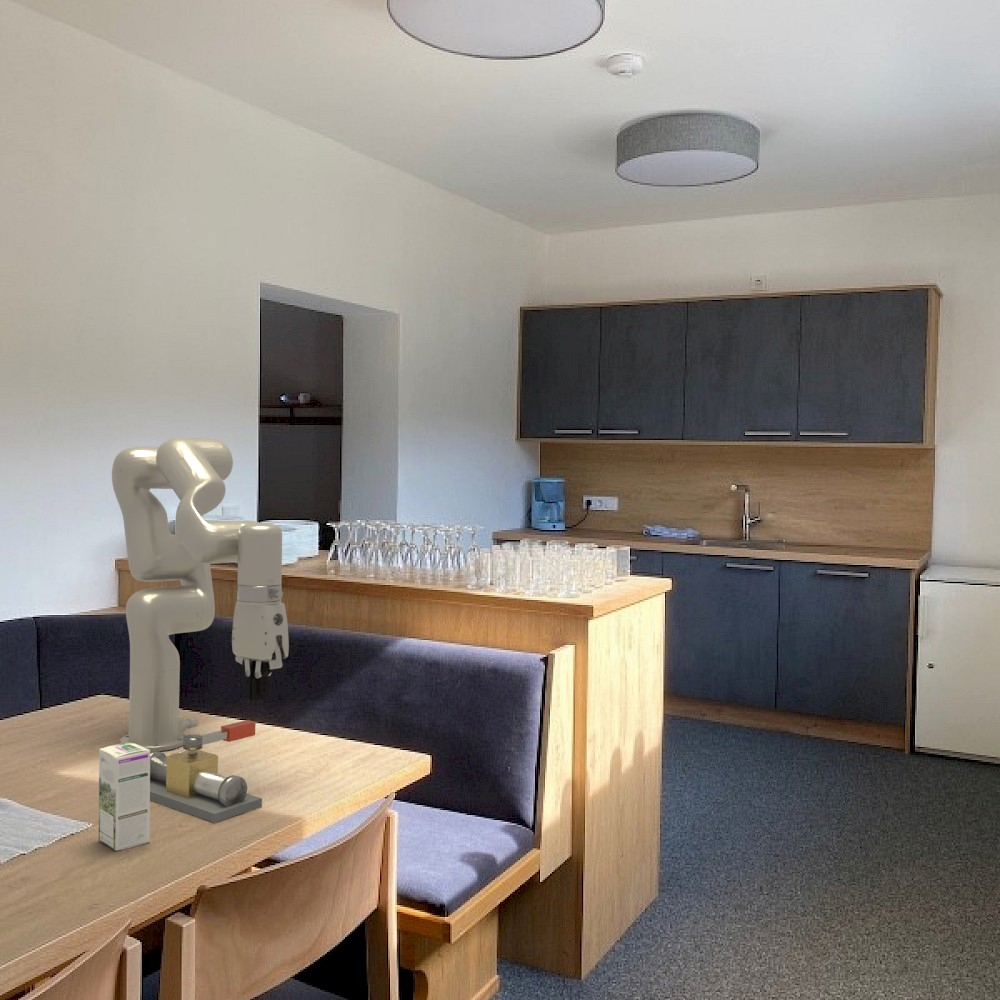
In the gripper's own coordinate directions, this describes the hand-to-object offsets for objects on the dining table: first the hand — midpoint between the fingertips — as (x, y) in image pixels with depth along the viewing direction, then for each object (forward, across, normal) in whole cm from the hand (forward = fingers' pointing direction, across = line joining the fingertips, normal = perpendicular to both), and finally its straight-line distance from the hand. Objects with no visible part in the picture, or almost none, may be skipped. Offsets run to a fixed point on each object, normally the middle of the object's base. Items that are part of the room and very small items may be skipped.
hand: (258, 698), depth 181 cm
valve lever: (+9, +6, +4) cm, 11 cm away
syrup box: (+17, -2, +28) cm, 33 cm away
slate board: (+17, +6, +9) cm, 20 cm away
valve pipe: (+17, +6, +9) cm, 20 cm away
